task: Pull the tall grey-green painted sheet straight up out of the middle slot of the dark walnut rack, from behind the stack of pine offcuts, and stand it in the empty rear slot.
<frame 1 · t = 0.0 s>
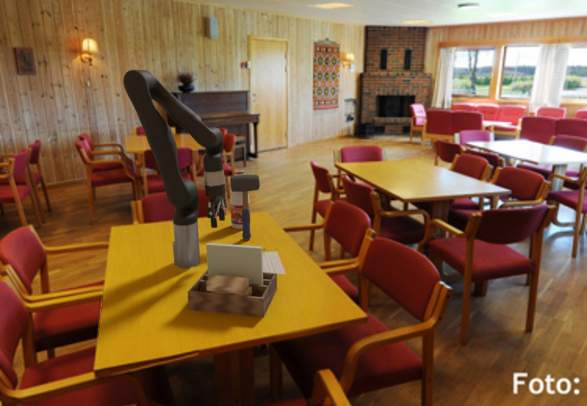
hand: (218, 224, 166), 17 cm above the table, tool pointing down, fingers open, 8 cm apart
baseboard molding: (267, 271, 167), on the table
fruit juice: (240, 226, 216), on the table
rack: (235, 303, 142), on the table
tall sheet: (236, 297, 143), point 1 cm above the table, touching rack
offcut top: (228, 288, 136), point 7 cm above the table, touching offcut middle
rubber mallet: (246, 239, 198), on the table
offcut middle: (231, 297, 136), point 4 cm above the table, touching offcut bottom, offcut top
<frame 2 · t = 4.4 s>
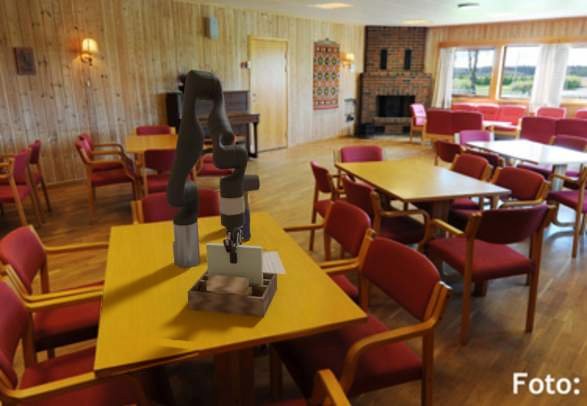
hand: (234, 261, 140), 14 cm above the table, tool pointing down, fingers closed on tall sheet, 1 cm apart
tall sheet: (236, 296, 143), point 2 cm above the table, touching gripper, rack
everything else where it was.
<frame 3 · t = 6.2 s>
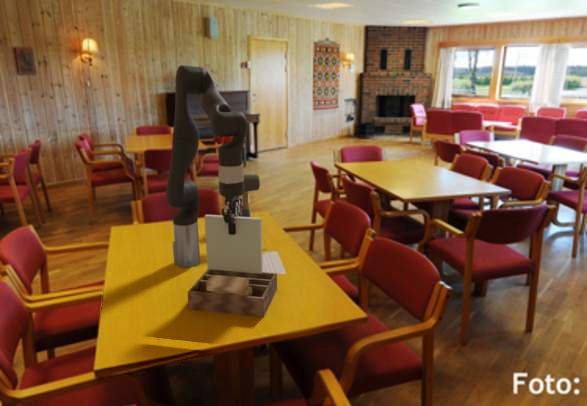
hand: (233, 233, 137), 24 cm above the table, tool pointing down, fingers closed on tall sheet, 1 cm apart
tall sheet: (234, 270, 140), point 11 cm above the table, touching gripper
everything else where it was.
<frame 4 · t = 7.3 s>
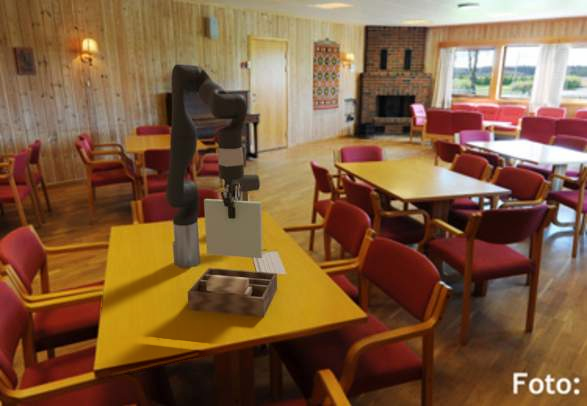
hand: (233, 217, 136), 29 cm above the table, tool pointing down, fingers closed on tall sheet, 1 cm apart
tall sheet: (234, 255, 140), point 16 cm above the table, touching gripper
everything else where it was.
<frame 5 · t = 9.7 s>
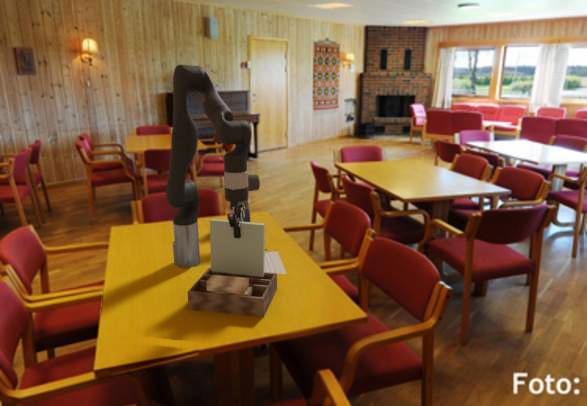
hand: (238, 236, 142), 21 cm above the table, tool pointing down, fingers closed on tall sheet, 1 cm apart
tall sheet: (237, 272, 146), point 8 cm above the table, touching gripper
everything else where it was.
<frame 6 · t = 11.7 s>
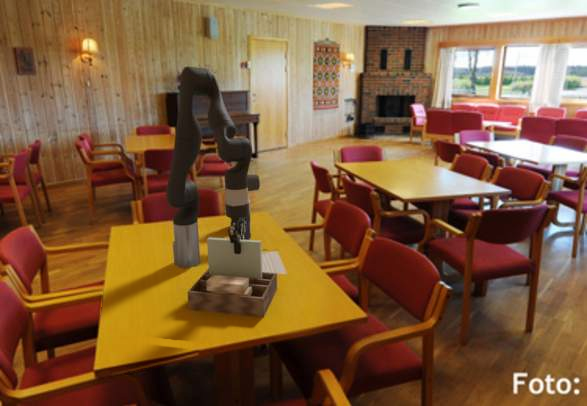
hand: (238, 251, 144), 16 cm above the table, tool pointing down, fingers closed
tall sheet: (236, 289, 148), point 2 cm above the table, touching rack
everything else where it was.
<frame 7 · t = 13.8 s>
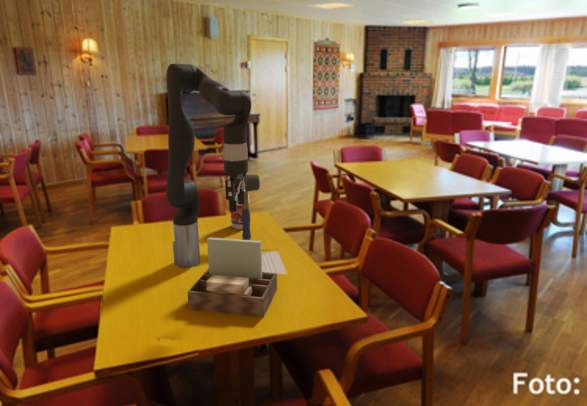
hand: (237, 207, 139), 31 cm above the table, tool pointing down, fingers open, 8 cm apart
nothing on the table moved.
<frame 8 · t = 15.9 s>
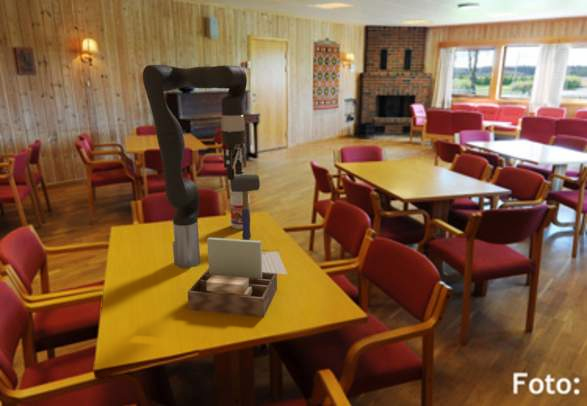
hand: (235, 177, 148), 38 cm above the table, tool pointing down, fingers open, 8 cm apart
nothing on the table moved.
at the end: tall sheet inside the target area on the rack (1.5 cm from its centre), point 1.5 cm above the rack's base; tall sheet tilted 0°; offcut top moved 0.0 cm from its start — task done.
